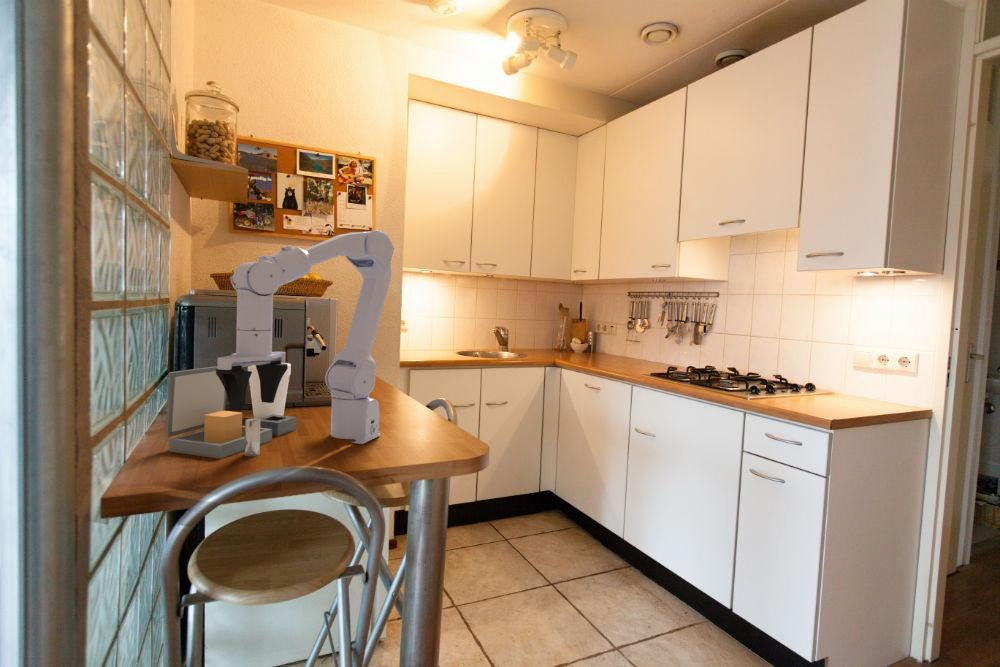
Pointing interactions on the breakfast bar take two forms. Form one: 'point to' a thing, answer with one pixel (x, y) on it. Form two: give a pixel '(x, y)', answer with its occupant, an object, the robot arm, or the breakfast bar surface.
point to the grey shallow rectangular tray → (212, 444)
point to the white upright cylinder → (252, 437)
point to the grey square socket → (278, 424)
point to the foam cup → (278, 405)
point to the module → (222, 427)
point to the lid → (192, 399)
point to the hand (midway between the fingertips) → (253, 406)
